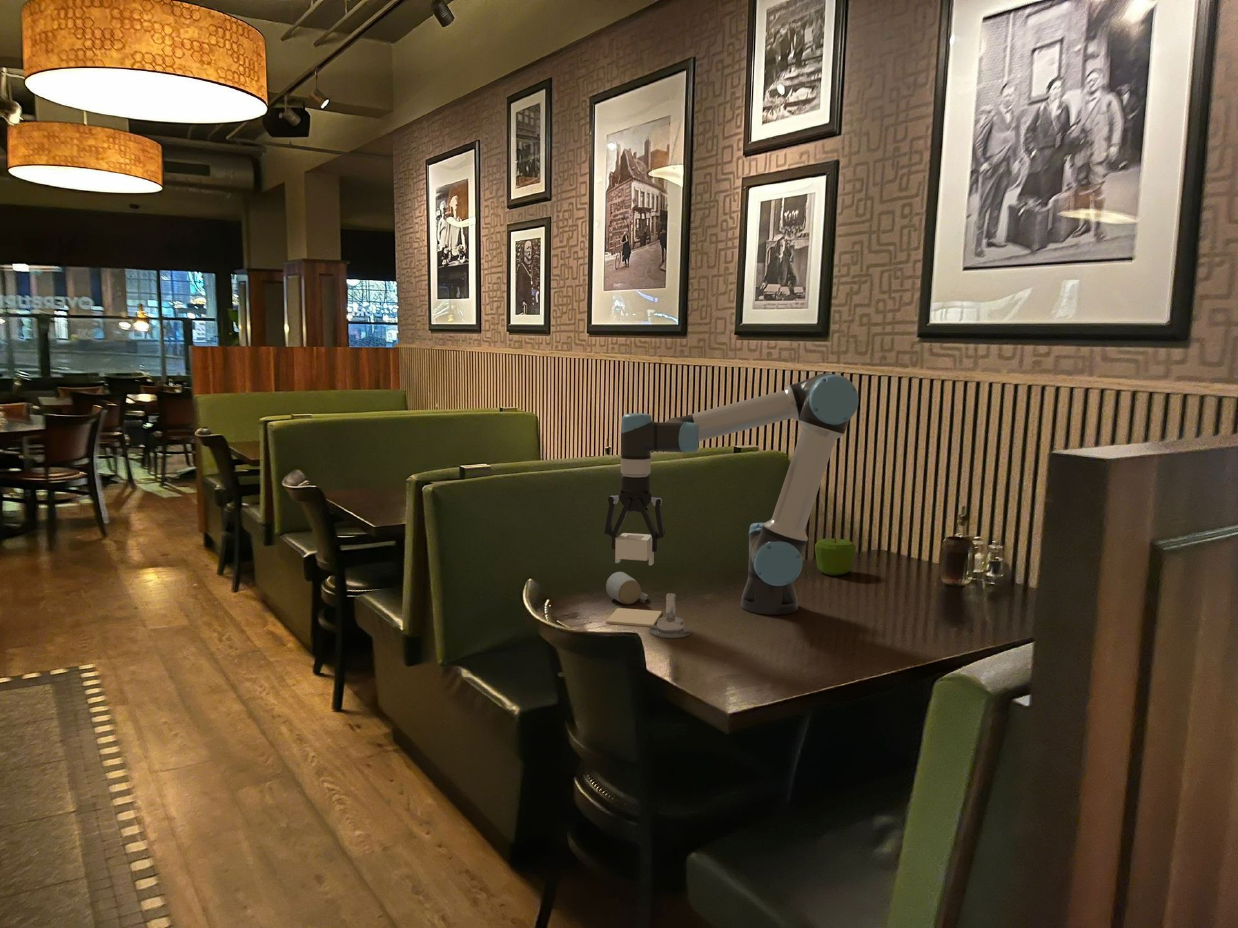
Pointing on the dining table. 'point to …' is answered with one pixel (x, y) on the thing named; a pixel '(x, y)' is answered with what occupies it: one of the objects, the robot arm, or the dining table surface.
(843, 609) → the dining table surface
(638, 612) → the mat
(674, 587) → the dining table surface
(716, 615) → the dining table surface
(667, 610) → the stand
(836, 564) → the apple
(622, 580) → the ceramic mug
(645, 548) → the white hollow square block
